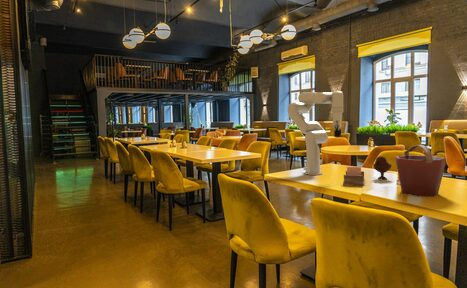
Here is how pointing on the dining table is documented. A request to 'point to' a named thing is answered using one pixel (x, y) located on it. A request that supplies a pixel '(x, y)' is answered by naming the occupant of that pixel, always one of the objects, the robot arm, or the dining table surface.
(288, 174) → the dining table surface
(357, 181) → the rack
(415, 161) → the bucket
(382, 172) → the ice cream bowl
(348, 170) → the tile
